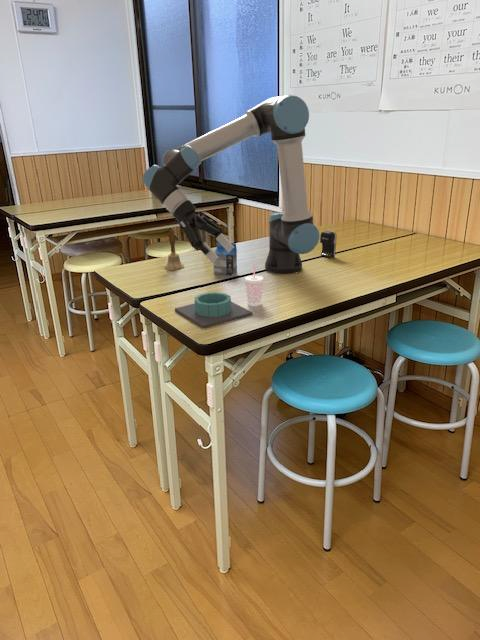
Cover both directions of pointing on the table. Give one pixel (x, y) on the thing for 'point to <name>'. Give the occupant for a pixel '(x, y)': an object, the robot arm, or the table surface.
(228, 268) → the label tape box
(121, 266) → the table surface
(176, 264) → the hand bell
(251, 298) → the beverage cup
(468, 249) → the table surface
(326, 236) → the battery charger
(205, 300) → the cup holder
